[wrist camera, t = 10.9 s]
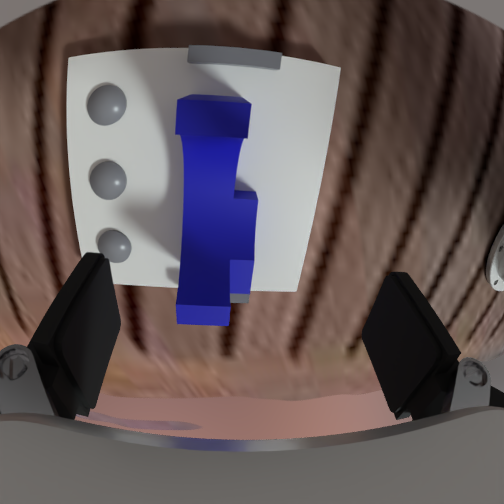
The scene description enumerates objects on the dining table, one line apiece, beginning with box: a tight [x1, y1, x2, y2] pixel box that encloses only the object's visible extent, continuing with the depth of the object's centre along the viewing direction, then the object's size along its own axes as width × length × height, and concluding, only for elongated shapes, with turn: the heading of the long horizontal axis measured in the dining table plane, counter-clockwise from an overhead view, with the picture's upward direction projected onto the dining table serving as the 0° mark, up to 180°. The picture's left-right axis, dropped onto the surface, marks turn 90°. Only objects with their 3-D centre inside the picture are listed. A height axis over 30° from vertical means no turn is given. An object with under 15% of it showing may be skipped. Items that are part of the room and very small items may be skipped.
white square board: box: [67, 45, 341, 303], centre depth 19 cm, size 17×17×4 cm
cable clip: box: [175, 94, 258, 326], centre depth 17 cm, size 12×4×6 cm, turn 174°
